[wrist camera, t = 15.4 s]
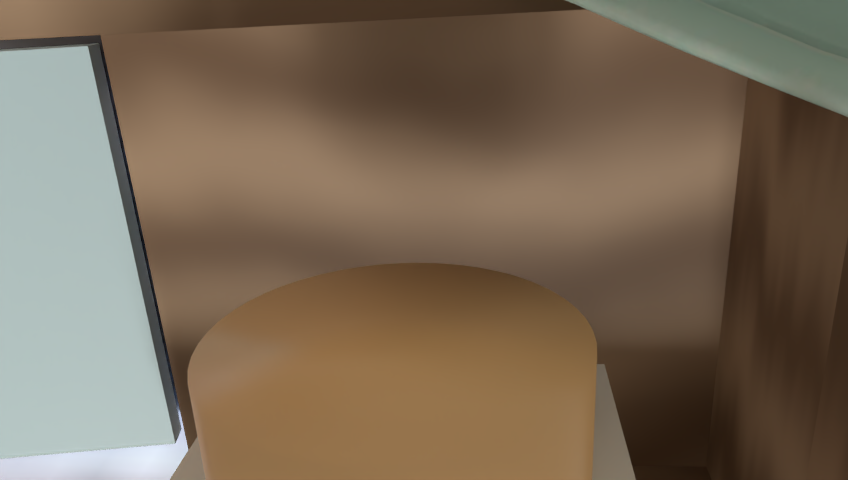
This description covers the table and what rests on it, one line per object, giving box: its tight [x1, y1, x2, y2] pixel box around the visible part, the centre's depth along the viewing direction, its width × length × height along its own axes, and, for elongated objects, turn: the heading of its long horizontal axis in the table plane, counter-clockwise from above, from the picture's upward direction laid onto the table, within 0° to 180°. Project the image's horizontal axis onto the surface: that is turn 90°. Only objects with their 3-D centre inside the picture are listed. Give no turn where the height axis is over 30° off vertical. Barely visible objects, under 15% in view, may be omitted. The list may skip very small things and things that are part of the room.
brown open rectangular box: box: [0, 0, 848, 480], centre depth 21 cm, size 20×22×12 cm
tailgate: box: [0, 43, 181, 459], centre depth 27 cm, size 16×1×8 cm
